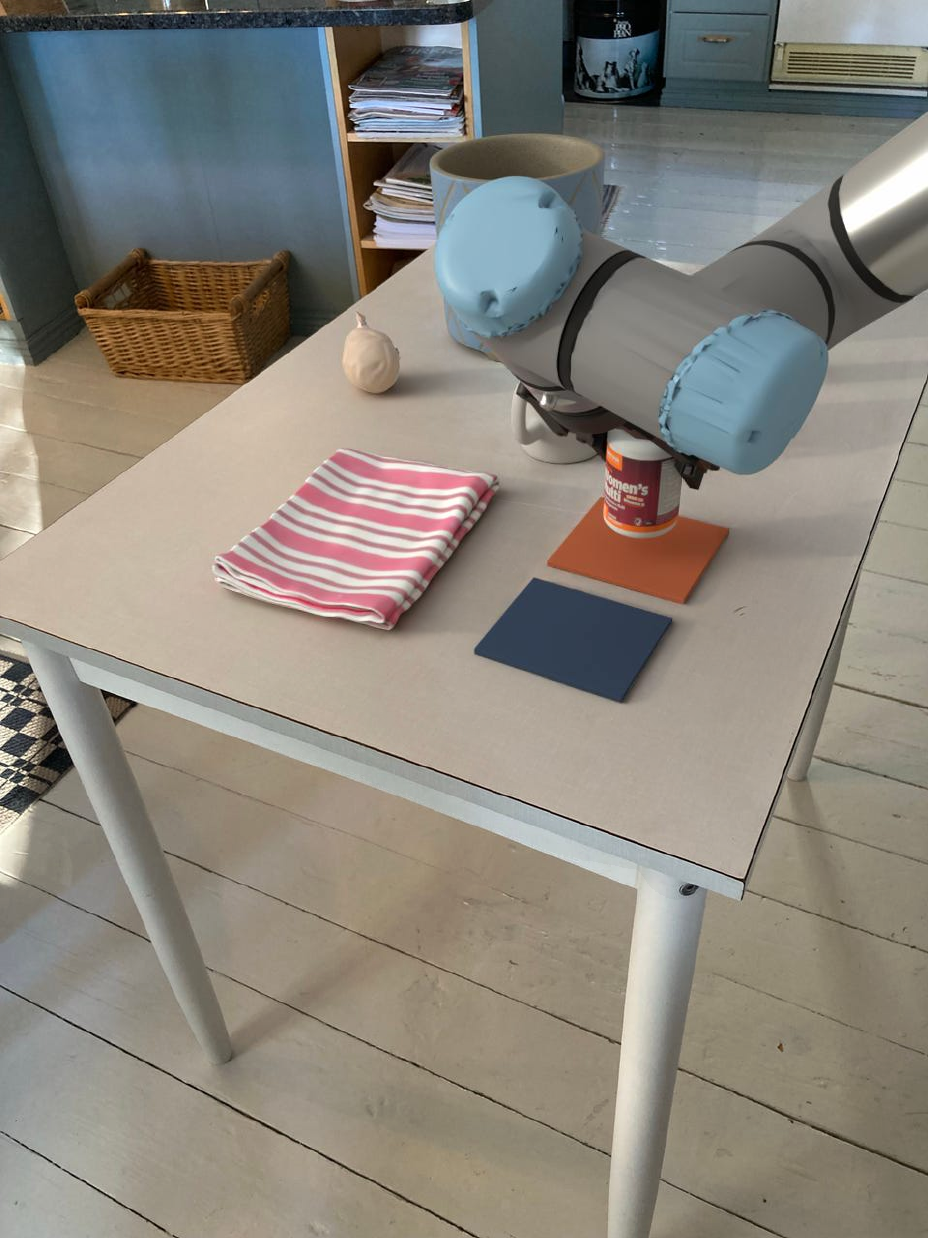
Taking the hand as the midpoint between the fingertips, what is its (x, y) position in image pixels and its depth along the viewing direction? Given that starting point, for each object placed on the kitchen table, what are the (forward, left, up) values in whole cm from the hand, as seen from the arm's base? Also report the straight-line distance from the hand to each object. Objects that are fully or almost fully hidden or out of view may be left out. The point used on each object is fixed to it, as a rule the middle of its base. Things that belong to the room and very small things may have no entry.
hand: (659, 464), depth 83 cm
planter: (+30, -32, -6) cm, 45 cm away
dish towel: (+22, +13, -6) cm, 26 cm away
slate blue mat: (0, +17, -6) cm, 18 cm away
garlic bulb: (+38, -12, -7) cm, 41 cm away
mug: (+14, -8, -7) cm, 18 cm away
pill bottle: (0, +4, -4) cm, 5 cm away
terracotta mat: (0, +4, -6) cm, 7 cm away
